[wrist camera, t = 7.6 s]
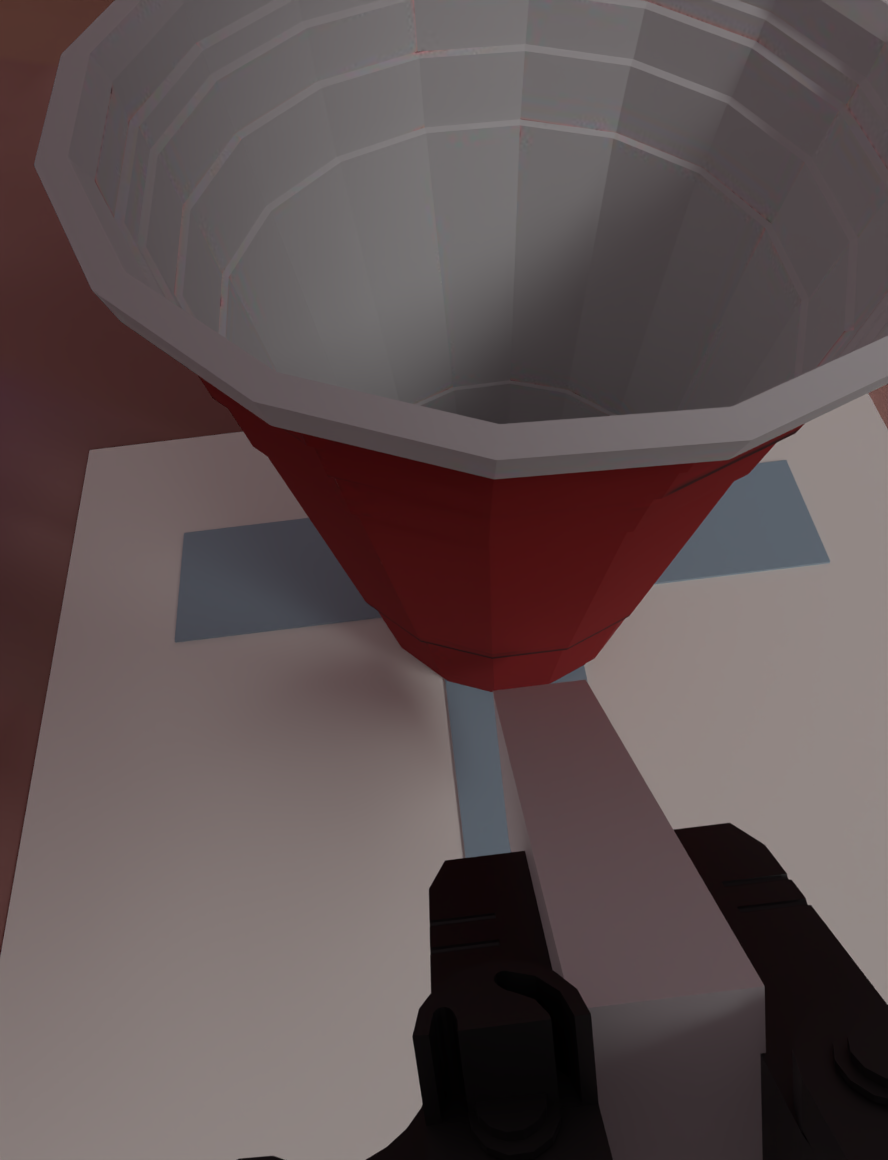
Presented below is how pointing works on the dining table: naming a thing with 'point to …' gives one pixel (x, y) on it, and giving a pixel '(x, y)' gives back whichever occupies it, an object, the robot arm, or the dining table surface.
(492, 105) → the plastic cup
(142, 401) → the dining table surface
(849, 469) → the placemat
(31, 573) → the dining table surface
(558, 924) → the robot arm
